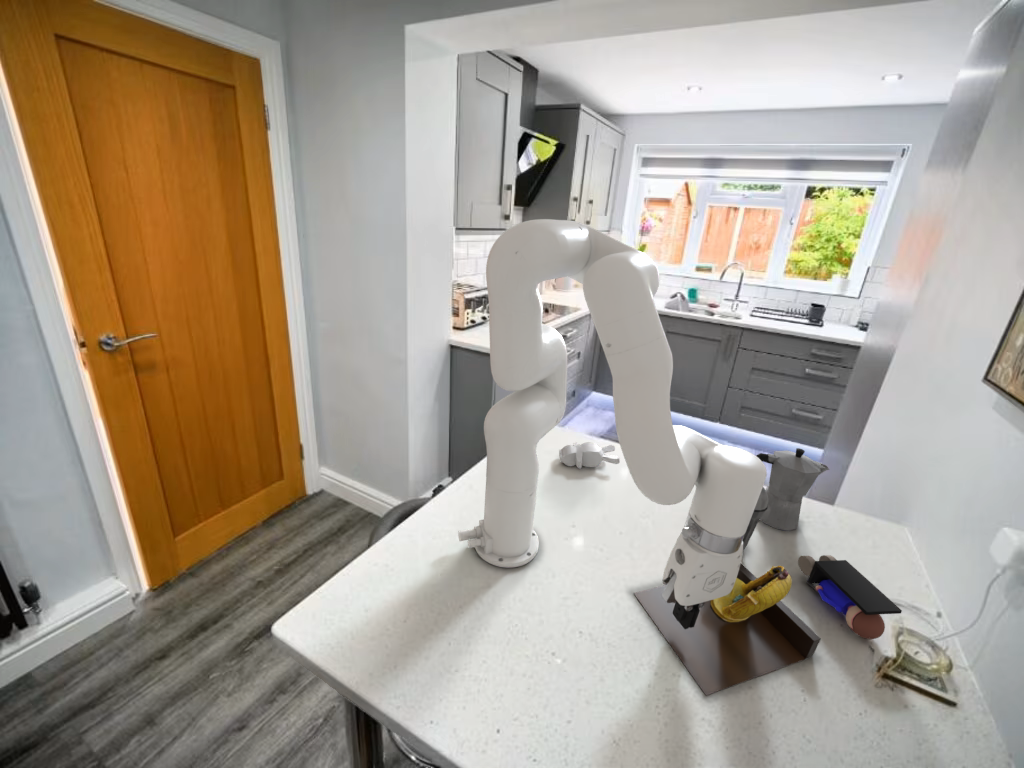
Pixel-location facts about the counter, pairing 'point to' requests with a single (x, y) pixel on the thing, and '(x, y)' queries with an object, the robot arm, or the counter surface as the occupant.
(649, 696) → the counter surface
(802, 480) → the coffeepot
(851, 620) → the figurine character
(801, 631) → the dark wood ledge tray
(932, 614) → the counter surface
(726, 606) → the yellow ribbed curl ornament
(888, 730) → the counter surface
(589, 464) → the bunny figurine
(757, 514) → the beverage cup
